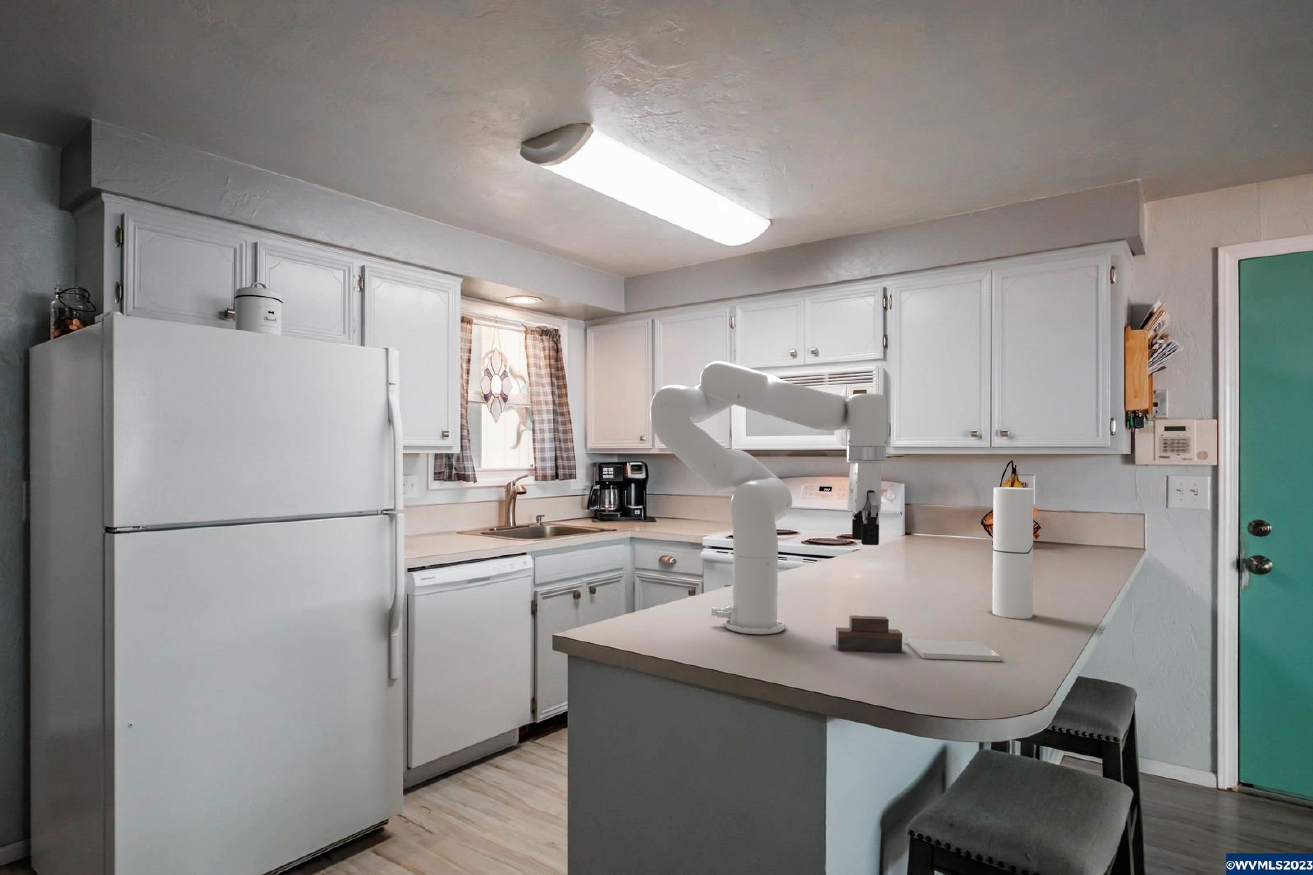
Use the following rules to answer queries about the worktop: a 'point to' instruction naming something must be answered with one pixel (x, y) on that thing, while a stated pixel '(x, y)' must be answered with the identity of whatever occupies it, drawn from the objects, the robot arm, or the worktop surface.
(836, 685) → the worktop surface
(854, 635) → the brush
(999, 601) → the container
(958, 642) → the tile
